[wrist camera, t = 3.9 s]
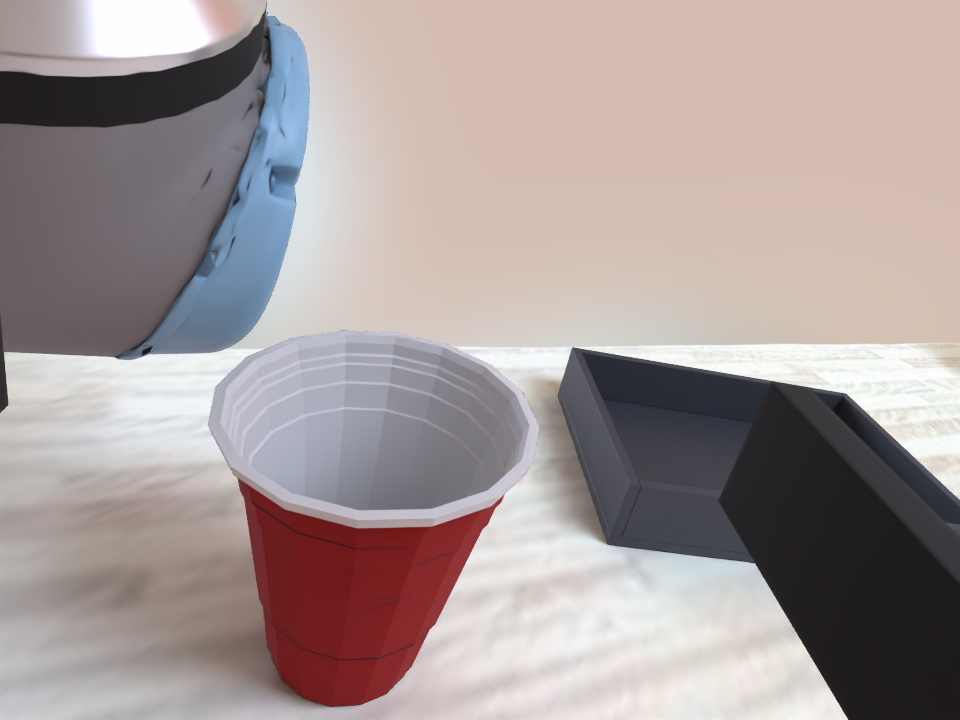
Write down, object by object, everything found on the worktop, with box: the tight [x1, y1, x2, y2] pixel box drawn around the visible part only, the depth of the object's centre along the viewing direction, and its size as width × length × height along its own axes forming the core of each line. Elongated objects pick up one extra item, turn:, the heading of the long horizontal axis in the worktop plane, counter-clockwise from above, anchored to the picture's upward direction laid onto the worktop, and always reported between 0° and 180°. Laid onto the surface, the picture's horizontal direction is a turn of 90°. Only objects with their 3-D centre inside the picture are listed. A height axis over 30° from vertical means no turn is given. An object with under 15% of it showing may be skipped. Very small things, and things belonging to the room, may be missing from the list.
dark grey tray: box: [558, 348, 960, 562], centre depth 46 cm, size 22×16×4 cm
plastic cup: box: [208, 330, 540, 706], centre depth 26 cm, size 11×11×12 cm
